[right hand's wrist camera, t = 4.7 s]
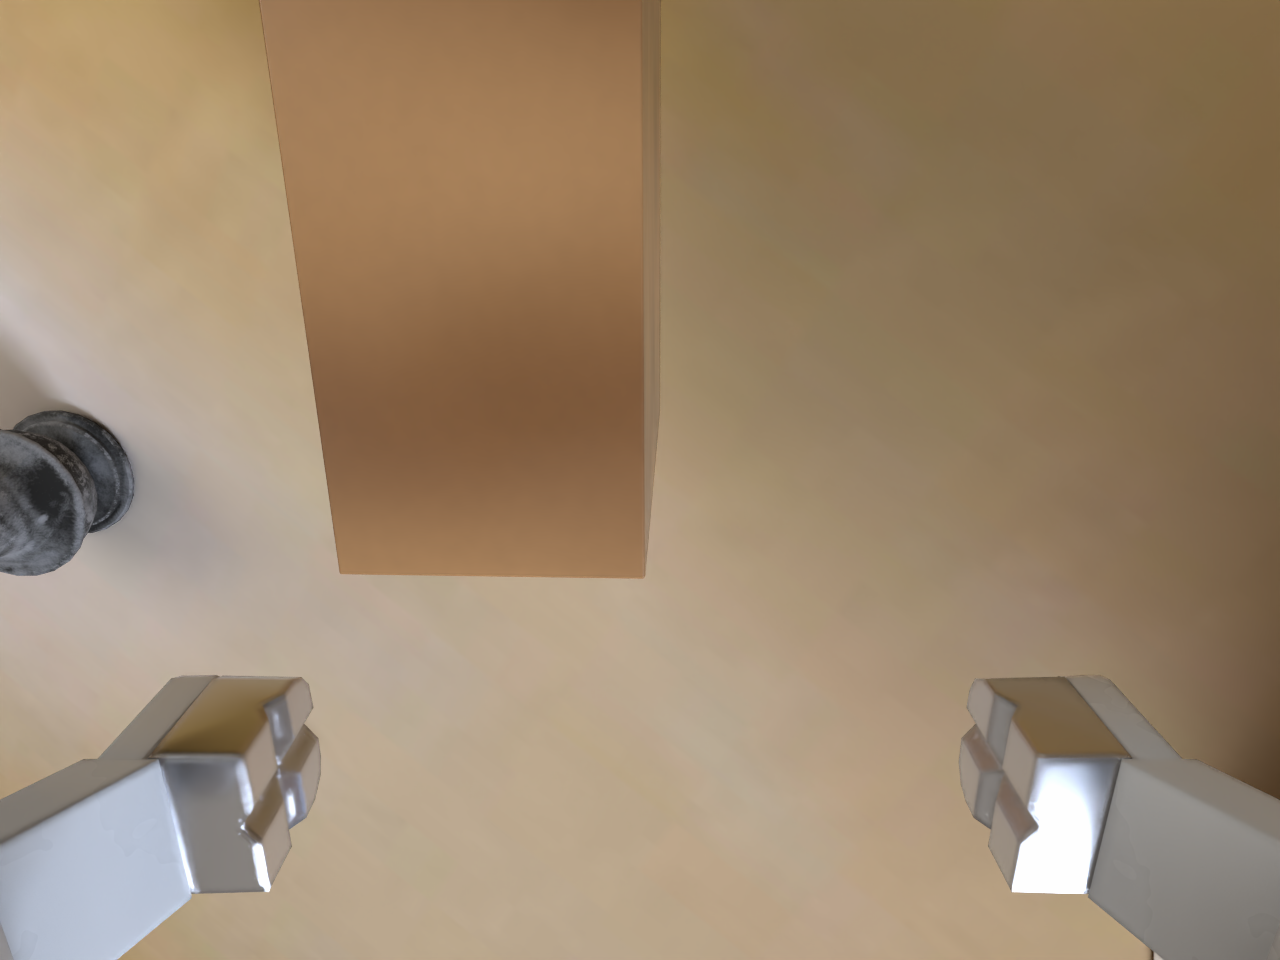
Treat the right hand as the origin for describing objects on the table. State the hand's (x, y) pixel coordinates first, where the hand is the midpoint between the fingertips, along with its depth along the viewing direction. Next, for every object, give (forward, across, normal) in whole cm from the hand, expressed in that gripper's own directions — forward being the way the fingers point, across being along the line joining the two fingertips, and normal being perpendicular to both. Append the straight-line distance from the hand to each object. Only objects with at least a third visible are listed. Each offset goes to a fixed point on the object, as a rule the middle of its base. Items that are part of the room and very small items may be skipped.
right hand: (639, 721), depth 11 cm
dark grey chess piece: (+24, +23, +6) cm, 34 cm away
